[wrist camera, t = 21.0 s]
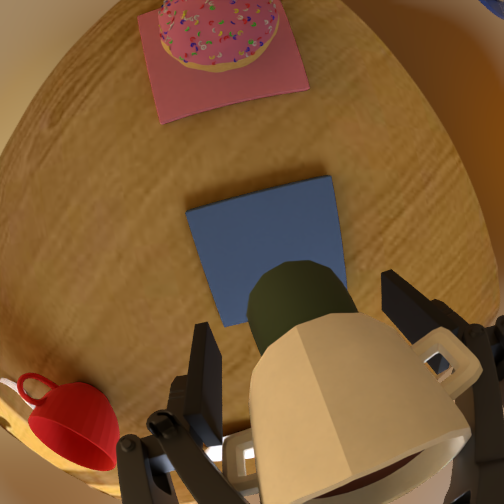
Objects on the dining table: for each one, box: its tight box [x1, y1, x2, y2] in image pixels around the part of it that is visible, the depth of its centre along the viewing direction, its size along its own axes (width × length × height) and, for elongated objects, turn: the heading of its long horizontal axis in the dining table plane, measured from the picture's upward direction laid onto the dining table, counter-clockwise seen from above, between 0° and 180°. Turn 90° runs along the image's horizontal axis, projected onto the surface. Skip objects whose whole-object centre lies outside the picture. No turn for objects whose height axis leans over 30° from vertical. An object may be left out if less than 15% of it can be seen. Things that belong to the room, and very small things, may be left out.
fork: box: [0, 378, 36, 409], centre depth 32 cm, size 3×20×2 cm, turn 36°
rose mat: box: [137, 0, 310, 124], centre depth 18 cm, size 13×12×1 cm
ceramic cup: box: [17, 373, 120, 471], centre depth 26 cm, size 13×17×10 cm
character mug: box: [222, 260, 483, 504], centre depth 11 cm, size 11×7×13 cm, turn 120°
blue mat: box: [185, 175, 347, 327], centre depth 25 cm, size 13×12×1 cm
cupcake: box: [158, 0, 279, 73], centre depth 12 cm, size 9×8×12 cm
